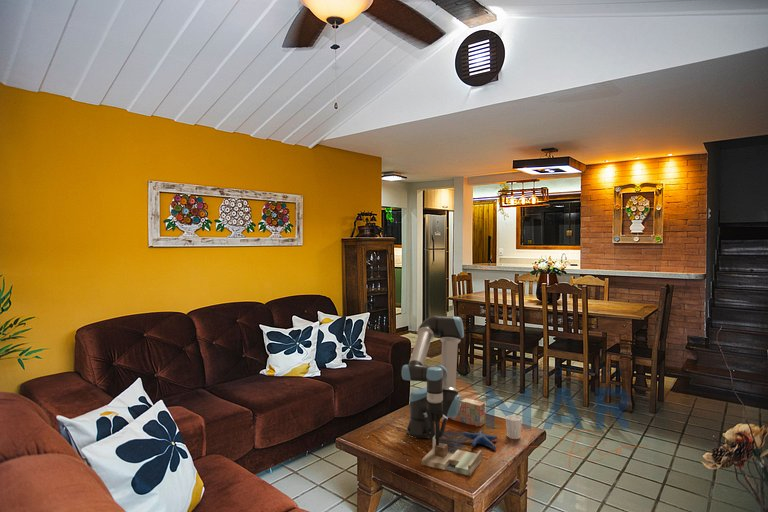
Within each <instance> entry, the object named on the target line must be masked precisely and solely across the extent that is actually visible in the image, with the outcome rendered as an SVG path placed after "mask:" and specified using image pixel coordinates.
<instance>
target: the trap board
mask: <svg viewBox="0 0 768 512" xmlns="http://www.w3.org/2000/svg"><path fill="white" fill-rule="evenodd" d="M482 460H483V451H482V450H481V449H479V450H478V452H477V453H475V452H471V451H466V450H463V449H462V450H461V449H457V450H455V452H454V453H453V452H449V451H448V454H447V455H446V456H445V457H444V458H443V457H439V456H435V452H433V448H432V449H431V450H429V452H428V453H426V454H425V456H423V458H422V459H421V465H422V466H427V467H430V468H435V469H439V470H442V471H443V470H444V471H448V472H452V473H457V474H459V475H460V474H461V475H465V476H469V477H471V476H472V475H473V473H474V472H475V470H476V469H477V468H478V466H479V465H480V464H481V462H482Z"/></svg>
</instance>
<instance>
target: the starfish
mask: <svg viewBox="0 0 768 512" xmlns="http://www.w3.org/2000/svg"><path fill="white" fill-rule="evenodd" d="M462 435H463V436H465V437H466V438H467V439H470V440H471V447H475V446H476V445H483V446H486V447H487V448H490V449H491V450H492V451H496V450H497V447H496V445H495V444H494V443H493V442H492V441H495V440H497V439H498V436H497V435H489V434H485V433H484V431H483V430H481V429H480V430H479V431H478V432H477V433H476V432H474V433H473V432H465V431H464V432H462Z"/></svg>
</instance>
